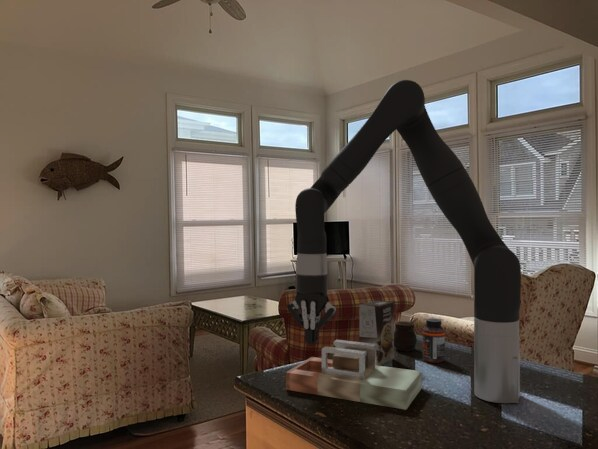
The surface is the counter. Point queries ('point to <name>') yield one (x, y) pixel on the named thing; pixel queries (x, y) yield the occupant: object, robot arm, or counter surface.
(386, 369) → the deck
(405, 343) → the mate gourd
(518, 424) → the counter surface
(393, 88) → the robot arm
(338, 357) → the walnut block
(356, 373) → the tunnel
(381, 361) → the coffee box
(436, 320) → the supplement bottle
